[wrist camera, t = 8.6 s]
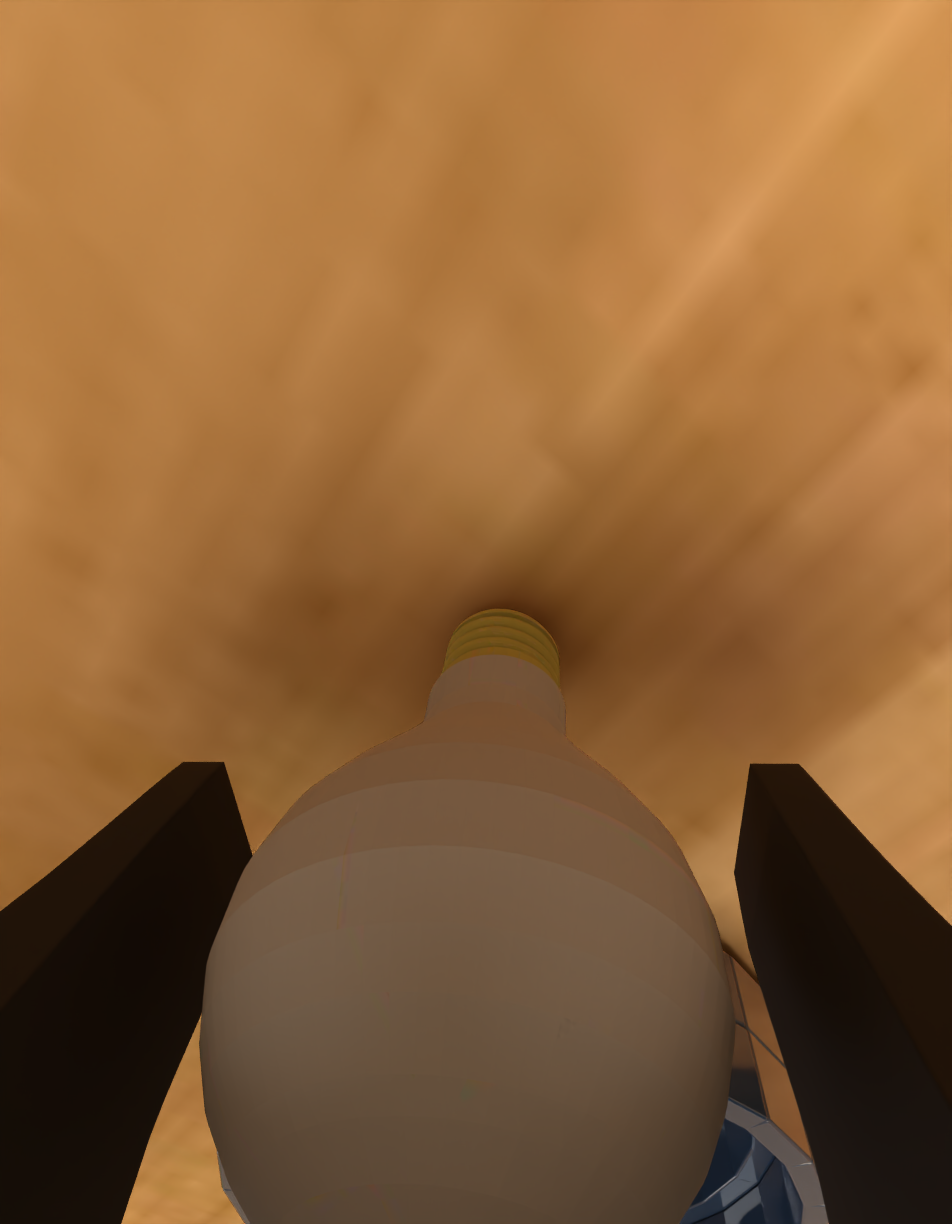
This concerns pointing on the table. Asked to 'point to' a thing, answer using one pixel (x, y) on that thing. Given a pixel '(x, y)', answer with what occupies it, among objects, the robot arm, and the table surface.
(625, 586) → the table surface
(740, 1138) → the pan
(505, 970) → the light bulb
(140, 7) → the table surface
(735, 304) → the table surface
